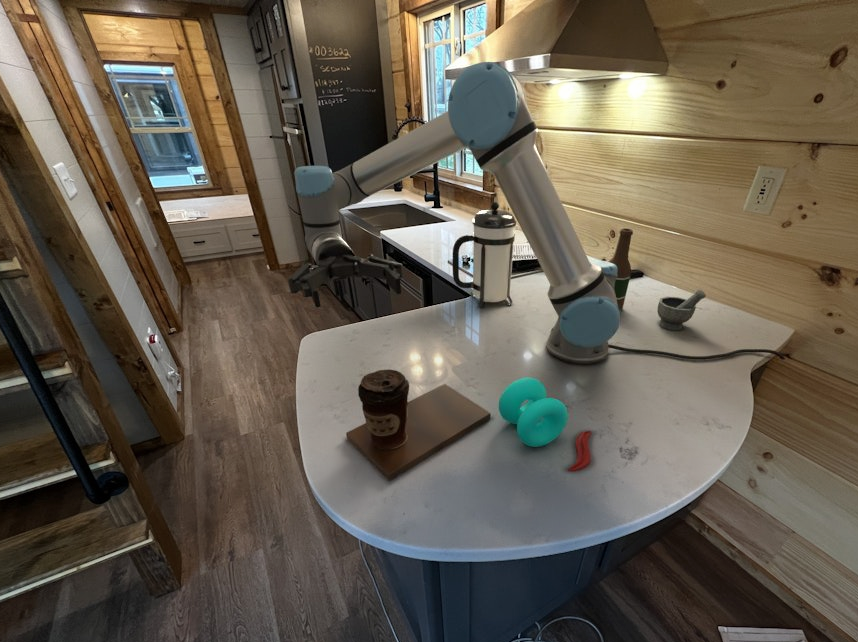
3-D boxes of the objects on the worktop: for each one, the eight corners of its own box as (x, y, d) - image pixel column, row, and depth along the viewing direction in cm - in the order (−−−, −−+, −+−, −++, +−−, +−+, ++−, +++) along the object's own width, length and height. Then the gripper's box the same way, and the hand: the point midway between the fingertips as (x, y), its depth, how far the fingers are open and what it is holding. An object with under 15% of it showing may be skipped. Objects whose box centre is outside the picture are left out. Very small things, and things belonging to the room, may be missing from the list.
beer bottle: (625, 306, 129) (644, 228, 116) (618, 315, 123) (637, 234, 110) (601, 301, 132) (616, 225, 119) (593, 309, 126) (609, 230, 113)
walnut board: (445, 389, 89) (444, 383, 88) (490, 418, 81) (490, 413, 80) (347, 438, 75) (345, 432, 74) (389, 481, 67) (388, 474, 66)
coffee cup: (403, 459, 69) (397, 398, 62) (357, 452, 70) (346, 391, 63) (418, 427, 76) (414, 368, 69) (377, 420, 77) (368, 363, 70)
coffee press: (482, 287, 141) (485, 195, 125) (522, 298, 133) (530, 201, 117) (451, 303, 129) (450, 203, 113) (493, 316, 121) (499, 210, 105)
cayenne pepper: (579, 476, 68) (581, 468, 67) (555, 464, 70) (556, 456, 69) (607, 439, 76) (609, 431, 75) (584, 429, 78) (586, 421, 77)
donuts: (519, 456, 72) (524, 412, 66) (494, 423, 80) (497, 381, 74) (566, 441, 75) (574, 398, 70) (538, 411, 83) (543, 369, 77)
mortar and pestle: (647, 324, 118) (658, 285, 111) (660, 315, 123) (671, 277, 117) (686, 337, 111) (700, 296, 105) (699, 327, 117) (713, 287, 110)
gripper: (394, 267, 90) (430, 301, 74) (273, 283, 80) (284, 327, 64) (391, 232, 86) (428, 260, 70) (263, 245, 76) (272, 281, 60)
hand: (359, 292), depth 67 cm, fingers open, 13 cm apart
